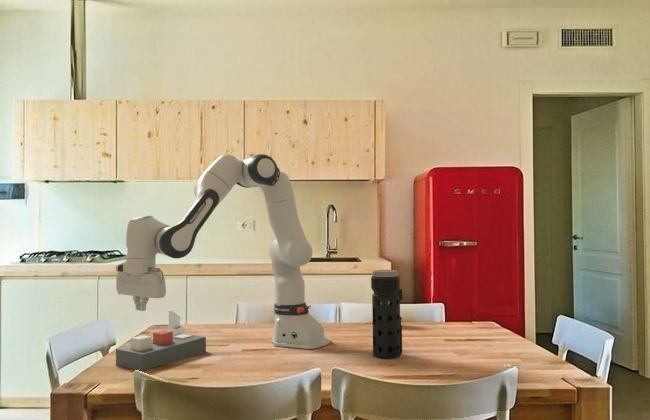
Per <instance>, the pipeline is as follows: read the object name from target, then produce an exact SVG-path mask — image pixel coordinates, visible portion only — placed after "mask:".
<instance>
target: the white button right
mask: <svg viewBox="0 0 650 420" xmlns="http://www.w3.org/2000/svg"><path fill="white" fill-rule="evenodd" d="M186 334H187V333H185V334H182V335H178V336H174V337H173V338H174V339H180V340H184V339H188V338H191V337H192V335H193V334H190V335H186Z"/></svg>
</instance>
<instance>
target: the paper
mask: <svg viewBox="0 0 650 420" xmlns="http://www.w3.org/2000/svg"><path fill="white" fill-rule="evenodd" d="M453 356H454V357H457V356H458V354H453ZM513 366H517V367H518V368H517V369H521V367H520V366H518V364H517V363H516V364H515V363H514V364H513V363H512V364H511V363H508V364H503V367H504V368H510V367H513Z"/></svg>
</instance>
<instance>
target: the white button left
mask: <svg viewBox="0 0 650 420" xmlns="http://www.w3.org/2000/svg"><path fill="white" fill-rule="evenodd" d="M151 340H152V336H150V335H144V334H142V335H138V336H132V337H130V345H131V350H136V351H143V350H146V349H150V348H152V343H151Z"/></svg>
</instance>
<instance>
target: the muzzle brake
mask: <svg viewBox="0 0 650 420" xmlns="http://www.w3.org/2000/svg"><path fill="white" fill-rule="evenodd" d="M398 272H399V271H398V270H396V269H375V270H373V271H372V275H371V278H370V289H371V291H372V292H373V293H372V295H371V299H372V300H371V302H372V303H371V308H372V310H371V311H372V356H373V357H374V358H377V359H381V360H392V359H393V360H394V359H396V358H397V359H398V358H400V356H401V355H402V353H403V326H402V319H403V318H402V317H401V301H402V300H403V289H402V288H401V286H400V285H401V284H400V281H401V278H400V275H398V274H399V273H398Z"/></svg>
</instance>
